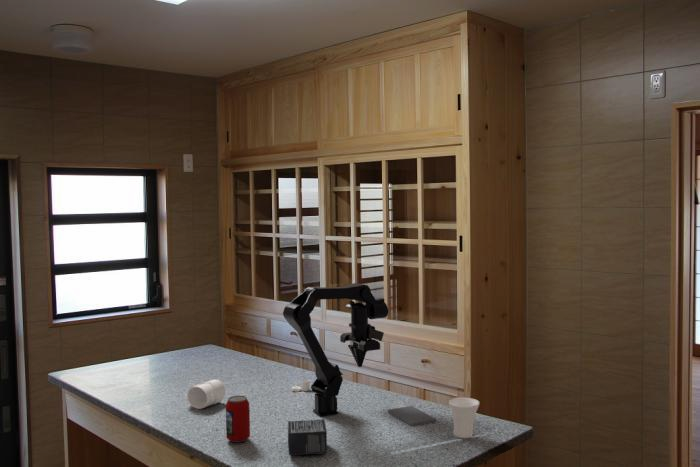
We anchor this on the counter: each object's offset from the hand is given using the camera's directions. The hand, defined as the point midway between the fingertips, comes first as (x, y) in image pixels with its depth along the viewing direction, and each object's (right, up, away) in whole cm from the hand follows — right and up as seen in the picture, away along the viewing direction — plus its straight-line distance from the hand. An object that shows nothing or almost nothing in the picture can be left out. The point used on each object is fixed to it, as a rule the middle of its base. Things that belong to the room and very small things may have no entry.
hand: (359, 366), depth 218 cm
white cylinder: (-53, -14, +3) cm, 55 cm away
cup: (+30, -14, -30) cm, 45 cm away
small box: (-10, -11, -39) cm, 42 cm away
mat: (+16, -13, -14) cm, 25 cm away
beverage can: (-36, -15, -31) cm, 50 cm away
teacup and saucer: (-21, -13, +20) cm, 32 cm away
